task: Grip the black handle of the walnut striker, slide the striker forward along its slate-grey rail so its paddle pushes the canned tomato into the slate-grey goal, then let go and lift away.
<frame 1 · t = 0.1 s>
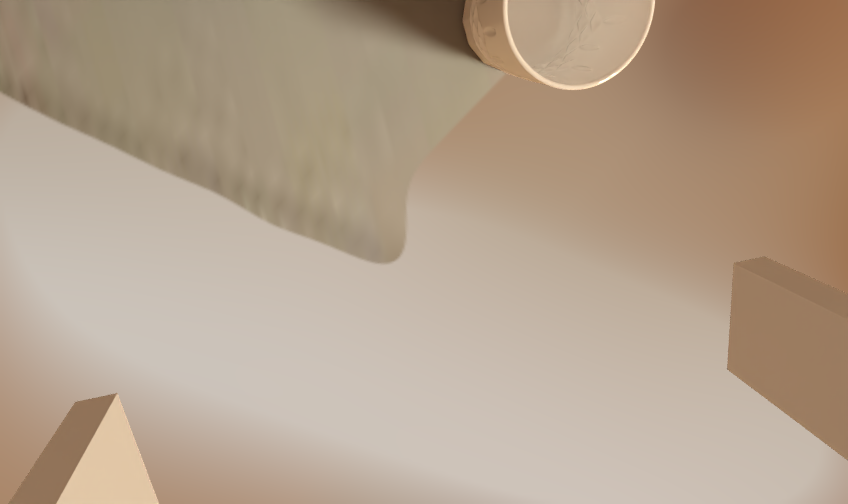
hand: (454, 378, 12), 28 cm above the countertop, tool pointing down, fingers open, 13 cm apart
white cup: (511, 17, 37), on the countertop
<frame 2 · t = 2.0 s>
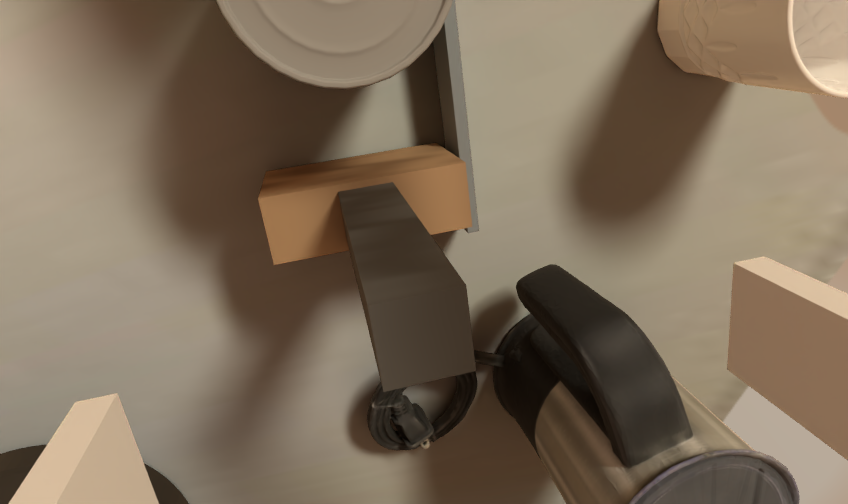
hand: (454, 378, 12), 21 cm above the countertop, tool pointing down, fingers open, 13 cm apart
striker: (378, 233, 22), point 9 cm above the countertop, slide at 0.0 cm
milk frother: (498, 373, 37), on the countertop
white cup: (708, 12, 32), on the countertop
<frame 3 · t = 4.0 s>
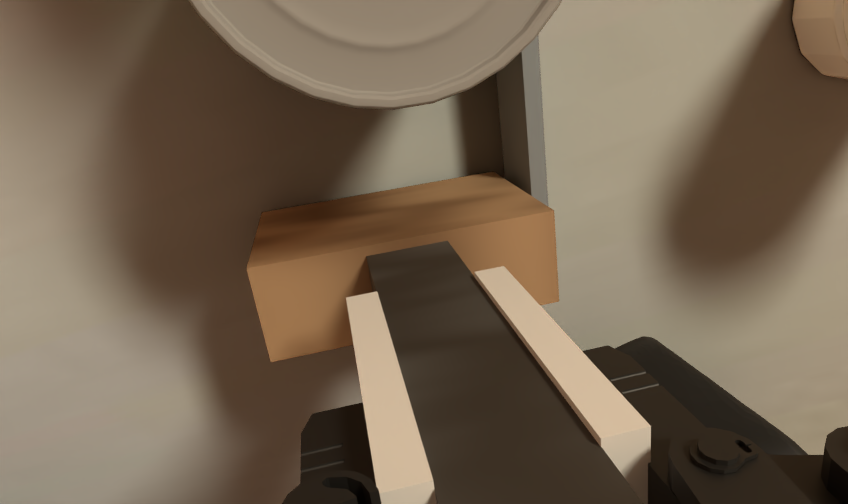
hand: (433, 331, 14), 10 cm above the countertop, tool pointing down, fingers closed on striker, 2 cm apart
striker: (433, 331, 14), point 10 cm above the countertop, slide at 0.0 cm, touching gripper
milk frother: (559, 462, 29), on the countertop
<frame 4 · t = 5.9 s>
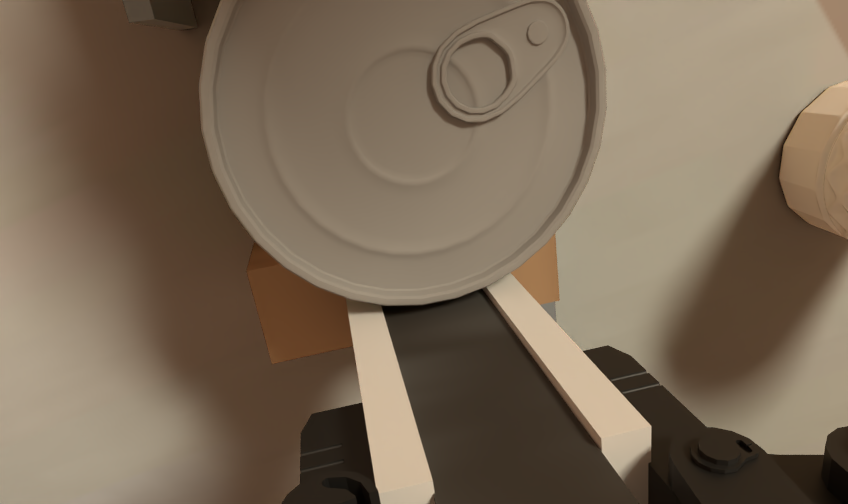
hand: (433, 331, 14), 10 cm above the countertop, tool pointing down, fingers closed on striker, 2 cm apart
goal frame: (371, 147, 22), on the countertop
striker: (433, 333, 14), point 9 cm above the countertop, slide at 6.9 cm, touching canned tomato, gripper
canned tomato: (362, 85, 21), on the countertop, touching striker
white cup: (839, 152, 26), on the countertop
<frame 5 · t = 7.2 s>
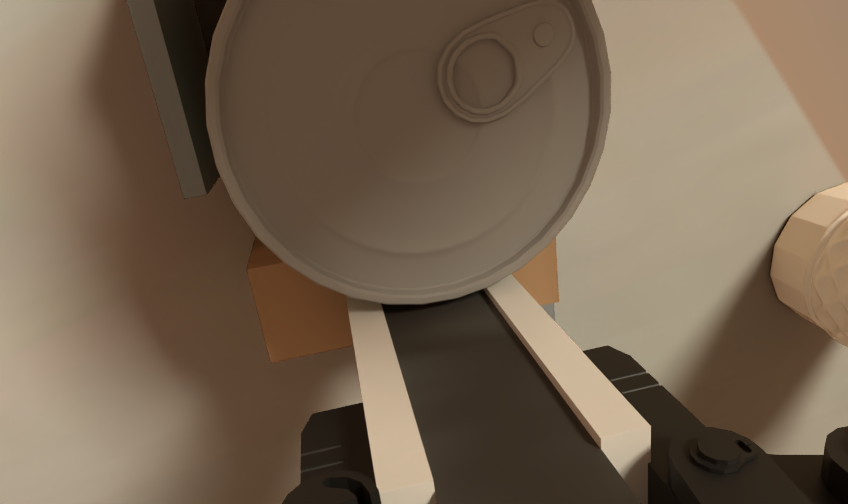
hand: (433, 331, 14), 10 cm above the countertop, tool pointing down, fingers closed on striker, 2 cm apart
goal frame: (390, 256, 24), on the countertop
striker: (433, 332, 14), point 9 cm above the countertop, slide at 11.4 cm, touching canned tomato, gripper
canned tomato: (364, 85, 21), on the countertop, touching striker
white cup: (827, 249, 28), on the countertop
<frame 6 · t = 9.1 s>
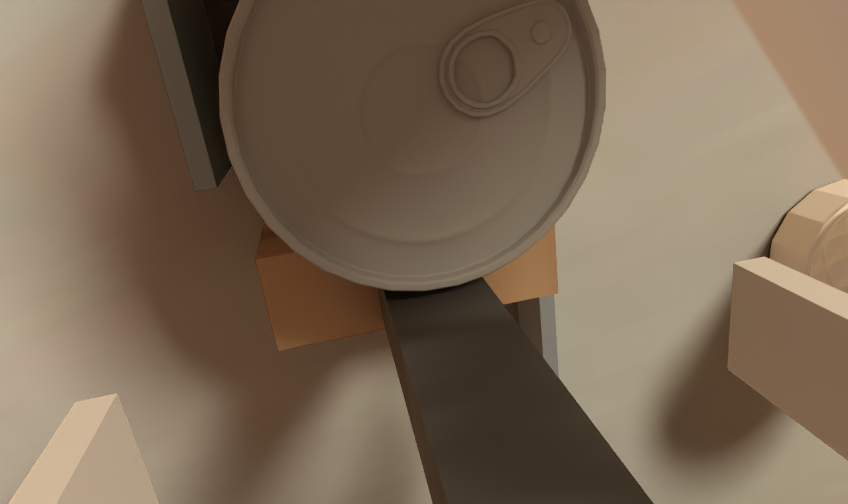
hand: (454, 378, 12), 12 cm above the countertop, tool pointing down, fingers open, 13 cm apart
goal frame: (393, 250, 24), on the countertop
striker: (436, 320, 15), point 9 cm above the countertop, slide at 11.4 cm
canned tomato: (369, 82, 22), on the countertop
white cup: (824, 244, 28), on the countertop
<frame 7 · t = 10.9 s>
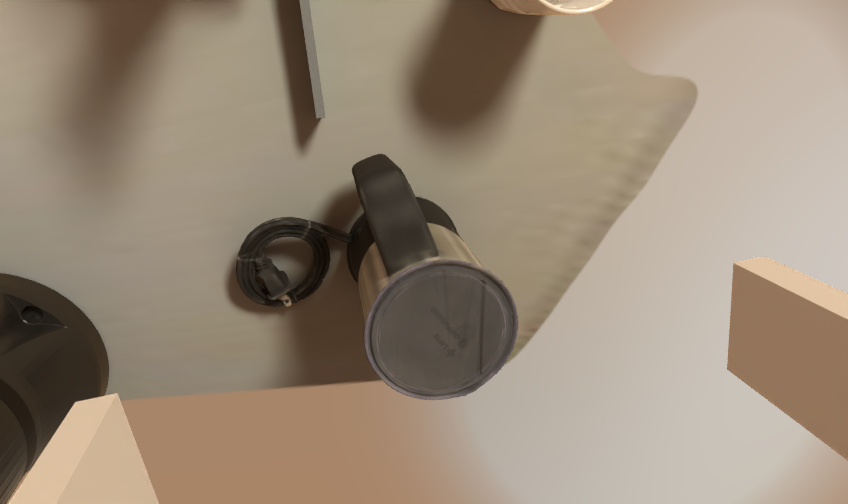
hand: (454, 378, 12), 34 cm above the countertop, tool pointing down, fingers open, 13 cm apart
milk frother: (353, 254, 47), on the countertop
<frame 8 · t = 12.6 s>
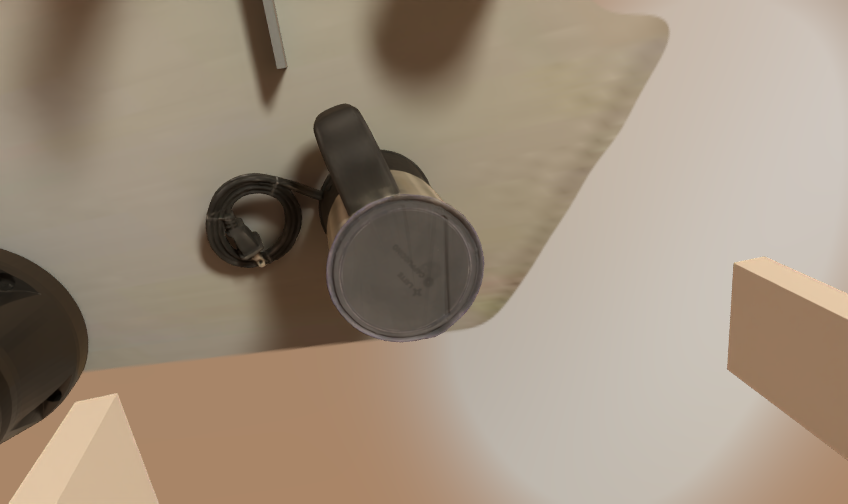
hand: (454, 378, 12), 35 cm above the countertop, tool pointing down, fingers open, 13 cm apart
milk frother: (326, 212, 46), on the countertop
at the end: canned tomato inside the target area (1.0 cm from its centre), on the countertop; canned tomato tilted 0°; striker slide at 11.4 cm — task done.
